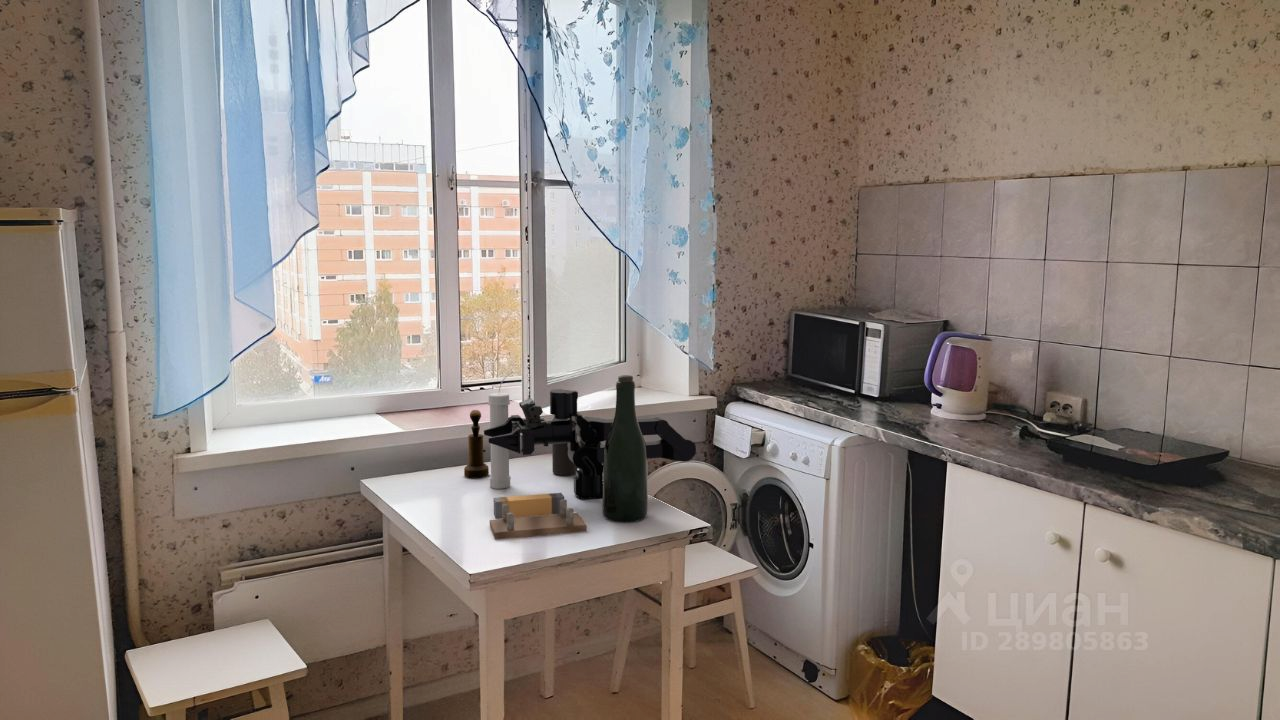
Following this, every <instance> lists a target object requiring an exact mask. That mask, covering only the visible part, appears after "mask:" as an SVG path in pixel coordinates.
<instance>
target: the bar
mask: <svg viewBox="0 0 1280 720" xmlns="http://www.w3.org/2000/svg"><path fill="white" fill-rule="evenodd" d="M560 500H565V496H564V494H563V493H562V492H554V493H539V494H527V495H512V496H501V497H500V496H499V497H493V501H492V502H493V516H494V520H495V519H503V508H502V505H503V504H509V513H514V518H520V517H525V516H527V517H532V516H538V515H539V516H544V515H549V514H551V515H556V514H560Z"/></svg>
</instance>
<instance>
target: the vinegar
mask: <svg viewBox="0 0 1280 720" xmlns="http://www.w3.org/2000/svg"><path fill="white" fill-rule="evenodd" d="M555 420H567V419H556V418H554V417H553V418H552V420H551V421H555ZM575 427H576V425H575V424H574V422H573V421H572V428H575ZM575 440H576V441H578V435H577V433H576V430H575ZM551 445H552V446H551V447H552V449H551V450H552V454H551V457H552V459H551V460H552V474H553V475H555V476H560V477H569V476H573V475H576V470H578V468H577V467H576V465H575V464H574V463H573V462H572V461H571V460H570V459H569V457H568V449H569V448H568V443H560V444H551Z"/></svg>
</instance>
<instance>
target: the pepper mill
mask: <svg viewBox="0 0 1280 720" xmlns="http://www.w3.org/2000/svg"><path fill="white" fill-rule="evenodd" d="M469 418H470V420H471V422H472V426H470V427H471V432H472V433H471V434H469V435H468V437H467V438H468V464H466V465H465V467H464V470H463V471H464V478H467V477H468V478H467V479H481V477H482V478H485V477H487V476H489V473H490V471H489V465H488V464H486V463H485V461H484V460H485V459H484V434H482V433H480V428H481V426H480V425H479V422H480V420H481V418H482V413H481V411H480V410H478V409H473V410H471V411H470V413H469Z"/></svg>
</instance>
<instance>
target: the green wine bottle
mask: <svg viewBox="0 0 1280 720" xmlns="http://www.w3.org/2000/svg"><path fill="white" fill-rule="evenodd" d="M617 378H618V379H617V381H616V383H615V390H616V391H615V392H616V394H615V395H616V397H615V408H614V409H615V410H614V416H613V423H612V426H611V428H610V431H609V434H608V436H607V439H606V441H604V445H605V447H604V458H603V464H602V465H603V497H602V516H603V517H604V518H605V519H607V520H609V521H611V522H616V523H633V522H638V521H641V520H644V519H645V518H646V517H647V516H648V510H649V509H648V507H649V506H648V505H649V501H648V500H649V497H648V496H649V495H648V493H649V490H648V482H649V481H648V480H649V479H648V459H647V449H646V444H645V442H646V441H645V437H644V435H643V434H642V432H641V429H640V426H639V424H638V420H637V419H638V417H637V411H636V410H637V409H636V397H635V395H636V391H635V390H636V383H635V381H634V376H633V375H630V374H629V375H628V374H627V375H626V374H622V375H618V377H617Z"/></svg>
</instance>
